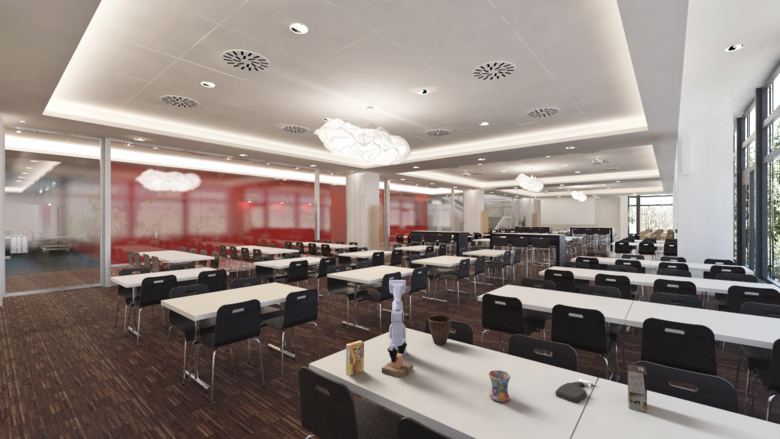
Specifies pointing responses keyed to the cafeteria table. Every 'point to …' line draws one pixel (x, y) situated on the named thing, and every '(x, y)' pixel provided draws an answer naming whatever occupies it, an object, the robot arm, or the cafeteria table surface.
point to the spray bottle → (573, 391)
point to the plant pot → (439, 328)
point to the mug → (499, 385)
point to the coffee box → (637, 387)
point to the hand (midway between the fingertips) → (397, 359)
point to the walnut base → (397, 370)
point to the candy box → (354, 357)
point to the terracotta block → (398, 361)
